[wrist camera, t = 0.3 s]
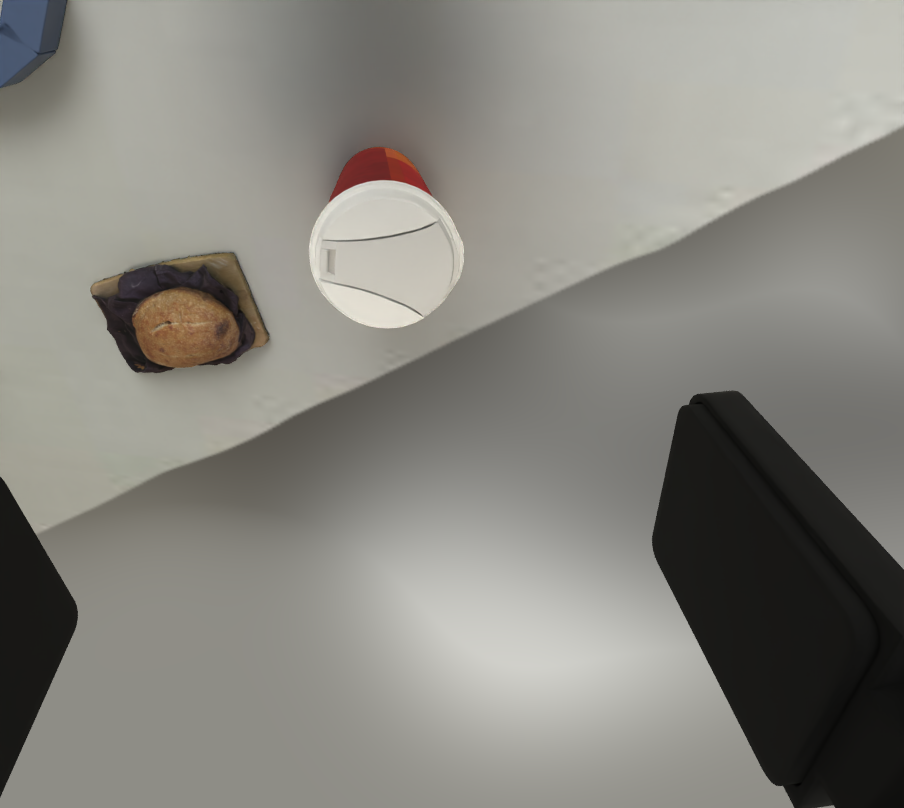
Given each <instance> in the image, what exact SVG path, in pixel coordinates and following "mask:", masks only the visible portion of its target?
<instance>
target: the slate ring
mask: <svg viewBox="0 0 904 808" xmlns="http://www.w3.org/2000/svg"><path fill="white" fill-rule="evenodd" d="M66 2H67V0H3V4H2V11H1V17H0V88H3V87H6V86H10V85H13V84H17V83H19V82H21V81H23V80H24V79H25V78H26V77H27V76H28V75H30V74H31V73H32V72H33V71H34V70H36V69H37V68H38V67H39V66H40V65H41V64H43V63H44V62H45V61H46V60H47V59H49V58H50V57H51V56H52V55H53V54H54V53H55V52H56V51H55V50H57V49H58V44H59V39H60V34H61V28H62V23H63V18H64V13H65V7H66Z"/></svg>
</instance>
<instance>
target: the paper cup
mask: <svg viewBox="0 0 904 808" xmlns="http://www.w3.org/2000/svg"><path fill="white" fill-rule="evenodd" d="M309 261H310V266H311V271H312V274H313V277H314V279H315V282H316V284H317V286H318V288H319V289H320V291H321V293H322V294H323V295H324V297H325V298H326V299H327V300H328V301H329V303H331V304H332V305H333V306H334V307H335V308H336V309H337V310H338V311H340V312H341V313H343V314H344V315H346V316H347V317H349V318H350V319H352V320H354V321H356V322H358V323H360V324H363V325H367V326H370V327H375V328H399V327H404V326H407V325H411V324H413V323H416V322H418V321H420V320H422V319H423V318H425V316H427V315H428V314H429V313H431V312H432V311H433V310H435V309H436V308H437V307H438V306H439V305H440V304H441V303H442V302H443V301H444V300H445V299H446V297H447V296H448V295H449V293H450V292H451V290H452V288H453V287H454V285H455V284H456V282H457V281H458V280H459V278H460V277H461V272H462V268H463V261H464V248H463V242H462V240H461V238H460V236H459V234H458V232H457V229H456V227H455V225H454V222H453V220H452V219H451V217H450V216H449V214H448V212H447V211H446V210H445V209H444V207H443V206H442V205H441V204H440V203H439V202H438V201H437V200H436V199H434V198H433V197H432V195H431V193H430V191H429V189H428V188H427V186H426V184H425V182H424V180H423V179H422V177H421V175H420V174H419V172H418V170H417V169H416V168H415V166H414V165H413V164H412V162H411V161H410V160H409V159H408V158H407V157H405V156H404V155H403V154H401V153H400V152H398V151H395V150H393V149H390V148H385V147H373V148H368V149H365V150H363V151H361V152H359V153H357V154H356V155H354V156H353V157H352V158H351V159H350V160H349V161H348V162H347V164H346V165H345V167H344V168H343V170H342V172H341V174H340V176H339V179H338V181H337V184H336V186H335V188H334V191H333V193H332V195H331V197H330V200H329V204H328V205H327V206H326V207H325V208H324V210H323V211H322V212H321V214H320V215H319V217H318V219H317V221H316V223H315V225H314V227H313V231H312V234H311V238H310V245H309Z"/></svg>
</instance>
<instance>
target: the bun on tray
mask: <svg viewBox="0 0 904 808" xmlns="http://www.w3.org/2000/svg"><path fill="white" fill-rule="evenodd" d="M189 256H190V255H189ZM189 256H188V258H184V259H181V260H180V258H179V259H174V260H171V261H170V262H169V261H168V262H164V261H163V262H162V263H159V264H156V265H150V266H147V267H143V268H140V269H136V270H134V269H131V270H130V271H129V272H124V274H119V275H117V276H114V277H111V278H107V279H104V280H102V281H99V282H97V283H94V284H93V285H92V286H91V290H90V291H91V293H92V297H93V298H94V299H95V300H96V302H97V304H98V306H99V307H100V308H101V310H102V312H103V314H104V316H105V318H106V319H107V330H108V331H109V332H110V334H111V335H112V336H113V337H114V339H115V341H116V343H117V346H118V348H119V350H120V352H121V354H122V355H123V357H124V359H125V360H126V362H127V364H128V365H129V366H130V368H131V369H132V370H134V371H135V372H137V373H138V372H144V373H148V372H154V373H160V372H165V371H168V370H172V369H174V368H185V367H193V366H196V365H218V364H221V363H223V364H230V363H232V362H234V361H236V359H237V358H238V357H240V356H241V355H242V354H243V353H245V352H246V351H248V350H250V349H252V348H256V347H261V346H263V345H265V344H266V343H267V342H268V340H269V336H268V333H267V332H266V331H265V328H264V327H263V325H264V324H263V322H262V319H261V318H260V315H259V312H258V308H257V306H256V305H255V304H254V301H253V298H252V297H251V292H250V290H249V287H248V285H247V283H246V280H245V278H244V276H243V274H242V270H241V268H240V266H239V265H238V261H237V260H236V256H235V255H234V253H222V254H220V253H218V254H217V253H215V254H209V255H201V256H195V257H191V258H189Z"/></svg>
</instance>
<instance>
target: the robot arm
mask: <svg viewBox="0 0 904 808" xmlns="http://www.w3.org/2000/svg"><path fill="white" fill-rule="evenodd" d="M652 546H653V551H654V555H655V558H656V560H657V562H658V564H659V566H660V568H661V570H662V572H663V574H664V576H665V578H666V580H667V582H668V584H669V586H670V588H671V590H672V592H673V594H674V596H675V598H676V600H677V602H678V604H679V606H680V608H681V610H682V612H683V614H684V616H685V618H686V620H687V621H688V624H689V625H690V628H691V629H692V631H693V633H694V635H695V637H696V639H697V641H698V643H699V645H700V647H701V649H702V651H703V653H704V655H705V657H706V659H707V661H708V663H709V665H710V667H711V669H712V671H713V673H714V675H715V676H716V679H717V681H718V683H719V685H720V687H721V689H722V691H723V693H724V695H725V697H726V698H727V700H728V702H729V704H730V706H731V708H732V710H733V712H734V714H735V716H736V718H737V720H738V722H739V724H740V726H741V728H742V730H743V732H744V734H745V736H746V738H747V740H748V742H749V744H750V746H751V747H752V750H753V752H754V754H755V756H756V758H757V759H758V761H759V764H760V766H761V767H762V769H763V771H764V773H765V774H766V776H767V777H768V779H769V780H770V781H771V782H772V783H773V784H775V785H776V786H783V787H784V788H785V790H786V792H787V794H788V796H789V798H790V800H791V802H792V804H793V806H794V808H817V807H824V806H831V805H834V806H835V808H904V569H903V568H902V567H901V566H900V565H899V564H898V563H897V562H896V561H895V560H894V559H893V558H892V556H891V555H890V554H889V553H888V552H887V551H886V550H885V549H884V548H883V547H882V546H881V544H880V543H879V542H878V541H877V540H876V539H875V538H874V537H873V536H872V535H871V534H870V533H869V532H868V530H867V529H866V528H865V527H864V526H863V525H862V524H861V523H860V522H859V521H858V520H857V518H856V517H855V516H854V515H853V514H852V513H851V512H850V511H849V510H848V509H847V508H846V507H845V505H844V504H843V503H842V502H841V501H840V500H839V499H838V498H837V497H836V496H835V495H834V494H833V492H832V491H831V490H830V489H829V488H828V487H827V486H826V485H825V484H824V483H823V482H822V480H821V479H820V478H819V477H818V476H817V475H816V474H815V473H814V472H813V471H812V470H811V469H810V467H809V466H808V465H807V464H806V463H805V462H804V461H803V460H802V459H801V458H800V457H799V456H798V455H797V453H796V452H795V451H794V450H793V449H792V448H791V447H790V446H789V445H788V444H787V442H786V441H785V440H784V439H783V438H782V437H781V436H780V435H779V434H778V433H777V432H776V431H775V429H774V428H773V427H772V426H771V425H770V424H769V423H768V422H767V421H766V420H765V419H764V418H763V416H762V415H760V413H759V412H758V411H757V410H756V409H755V408H754V407H753V406H752V405H751V403H750V402H749V401H748V400H747V399H746V398H745V397H744V396H743V395H742V394H741V393H739V392H738V391H724V392H714V393H704V394H697V395H694V396H693V397H692V399H691V400H690V403H689V405H685V406H682V407H681V408H680V410H679V412H678V416H677V421H676V426H675V430H674V436H673V440H672V445H671V449H670V454H669V459H668V464H667V468H666V473H665V478H664V483H663V488H662V492H661V497H660V502H659V507H658V511H657V516H656V521H655V526H654V531H653V536H652ZM77 619H78V611H77V605H76V603H75V601H74V599H73V597H72V596H71V594H70V592H69V590H68V589H67V587H66V585H65V584H64V582H63V580H62V579H61V577H60V575H59V574H58V572H57V570H56V569H55V567H54V565H53V563H52V562H51V560H50V558H49V556H48V555H47V553H46V551H45V550H44V548H43V546H42V545H41V543H40V541H39V540H38V538H37V536H36V534H35V533H34V531H33V529H32V528H31V526H30V524H29V522H28V521H27V519H26V517H25V516H24V514H23V512H22V511H21V509H20V507H19V505H18V504H17V502H16V500H15V499H14V497H13V495H12V494H11V492H10V490H9V488H8V487H7V485H6V483H5V482H4V480H3V479H2V478H1V477H0V796H1V794H2V792H3V790H4V787H5V785H6V783H7V781H8V779H9V776H10V774H11V772H12V770H13V767H14V765H15V763H16V761H17V758H18V756H19V754H20V752H21V749H22V747H23V745H24V743H25V740H26V738H27V736H28V734H29V731H30V729H31V727H32V725H33V723H34V720H35V718H36V716H37V714H38V711H39V709H40V707H41V705H42V702H43V700H44V698H45V696H46V694H47V691H48V689H49V687H50V684H51V682H52V680H53V678H54V676H55V673H56V671H57V669H58V667H59V664H60V662H61V660H62V658H63V656H64V653H65V651H66V648H67V647H68V644H69V642H70V640H71V638H72V635H73V633H74V631H75V628H76V625H77Z"/></svg>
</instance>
